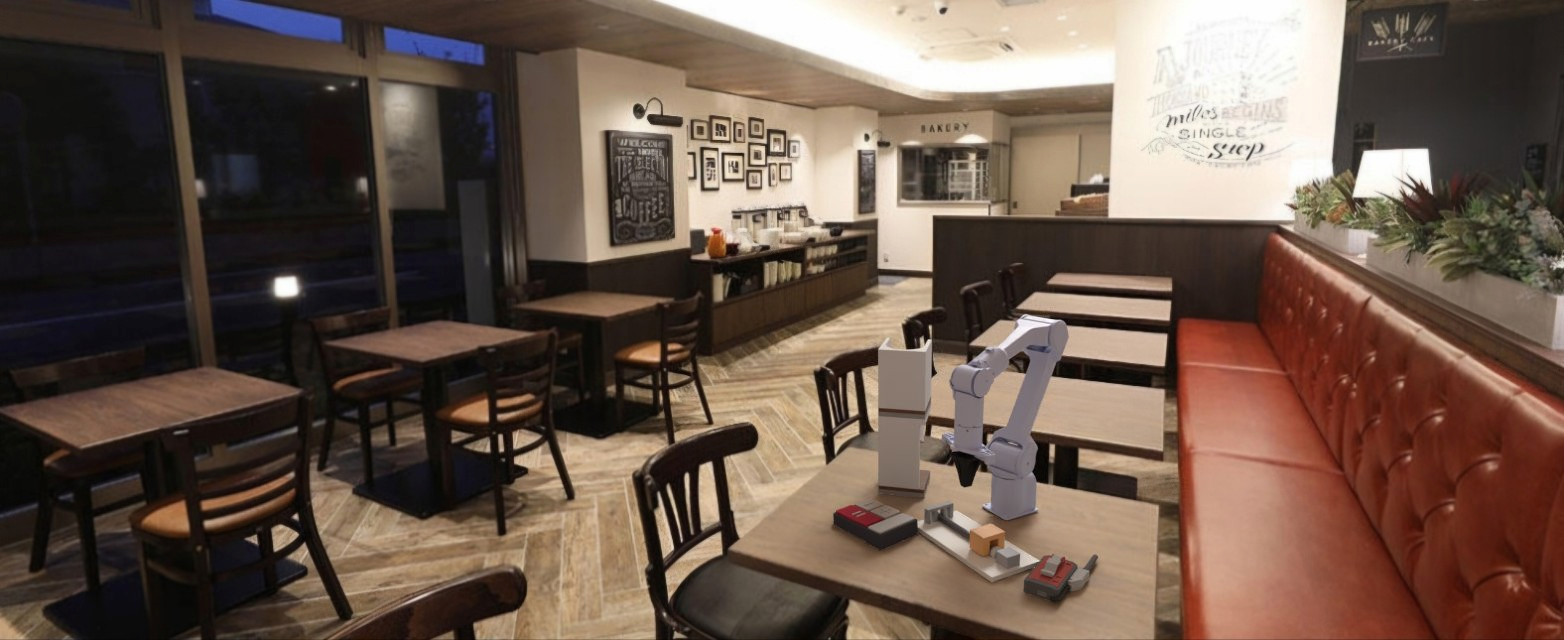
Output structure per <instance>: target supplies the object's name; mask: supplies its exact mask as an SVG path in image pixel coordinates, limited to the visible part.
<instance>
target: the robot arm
mask: <svg viewBox="0 0 1564 640" xmlns="http://www.w3.org/2000/svg"><path fill="white" fill-rule="evenodd" d="M1069 338H1070V337H1069V329H1068V326H1067V323H1066V322H1065V321H1064V320H1062V319H1051V318H1046V317H1040V316H1034V315H1030V314H1026V313H1025V314H1023V315H1022V316H1020V318H1019V319H1016V321H1015V323H1014V328H1013V331H1012V332H1011V333H1010V334H1009V335H1008V336H1007V337H1006V338H1005V339H1004V340H1003V341H1002V342H1001V343H1000V344H999V345H998V346H995V345H991V346H986V347H985V348H984V350H983V351H982V352H980V353H979V354H978V355H977V356H976V357H974V359H972V360H971V361H969V362H968V363H967V364H963V363H962V364H959V366H956V367H955V368H954V369H953V371H952V373H951V375H950V378H949V379H948V382H949V387H950V389H951V392H952V398H953V400H954V421H953V422H954V425H953V433H951V432H946V433H942V434H941V443H943V444H945V445H946V444H948V445H949V449H950V450H952V451H951V452H949V453H950V454H949V456H950V458H951V460H952V462H953V464H954V466H955V468H956V473H957V476H958V481H959V485H960V486H961V487H963V488H964V489H965V488H968V487H973V483H974V480H975V477H976V474H977V472H978V470H979V468H980V466H981V465H982V463H984V465H987V466H988V471H989V472H991V486H990V488H991V489H990V490H991V491H990V502H987V503H983V504H982V505H981V506H982V508H983V509H985V510H987V511H988V512H991V513H992V514H994V515H995V516H997V517H999V518H1001V519H1002V520H1004V521H1010V520H1014V519H1018V518H1020V517H1024V516H1027V515H1030V514H1033V513H1036V512H1039V508H1038V507H1036V506H1037V505H1036V504H1037V503H1036V502H1037V486H1038V485H1037V484H1038V483H1037V479H1036V476H1035V475H1034V473H1033V470H1034V469H1035V465H1036V457H1037V453H1038V449H1039V448H1038V445H1037V443H1036V441H1034V438H1032V435H1031V433H1032V430H1033V427H1034V424H1035V421H1036V419H1037V416H1038V413H1039V410H1040V409H1041V408H1040V407H1041V405H1042V402H1043V401H1044V400H1043V399H1044V397H1045V395H1046V392H1047V388H1048V387H1049V383H1050V381H1051V378H1052V375H1053V374H1054V373H1053V372H1054V369H1055V367H1056V365H1057V362H1059V361H1061V360H1062V356H1063V354H1064V352H1065V348H1066V346H1067V343H1068V340H1069ZM1022 351H1023V352H1024V354H1025V355H1026V356H1028V357H1029V364H1028V367H1027V368H1026V369H1027V370H1026V372H1025V375H1024V378H1023V380H1022V383H1021V386H1020V389H1019V391H1018V394H1017V397H1016V399H1015V401H1014V402H1015V403H1014V405H1013V407H1012V410H1011V413H1010V416H1009V418H1008V422H1007V423H1006V426H1004V427H1002V428H999V429H997V430H995V431H994V432H993V435H992V437H991V439H990V440H989V441H988V443H987V444H986V445H985V444H984V443H983V436H984V435H983V431H984V430H983V429H984V410H985V406H984V405H985V404H984V403H985V396H987V395H988V393H989V391H990V389H991V386H992V385H993V384H994V381H995V379H996V378H997V377H998V376H1000V375H1001V374H1003V373H1004V371H1006V370H1007V369H1008V367H1009V366H1010V359H1011V358H1013V357H1014V356H1016V355H1017V354H1019V353H1021V352H1022Z"/></svg>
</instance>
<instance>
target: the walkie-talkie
mask: <svg viewBox="0 0 1564 640" xmlns="http://www.w3.org/2000/svg"><path fill="white" fill-rule="evenodd" d="M1098 559H1099V555H1097V554H1093V555H1092V556H1091V557H1090V559H1089V560H1088V561H1087V563H1086V564H1085V565H1084V567H1083V568H1080V567H1078V564H1077V563H1075V562H1074V561H1072V560H1067V559H1066V557H1065V556H1062V555H1059V554H1055V553H1052V554H1050V555H1043V556H1042V557H1041V559H1039V562H1038V563H1037V565H1036V566H1035V568H1032V569H1031V571H1030V572H1029V573H1028V574H1027V575H1026V576H1025V578H1023V591H1024V593H1025V594H1027V595H1030V594H1031V595H1030V596H1033V597H1035V598H1039V599H1042V600H1045V601H1048V602H1052V603H1056V604H1057V603H1059V602H1060V601H1061V599H1062V598H1063V597H1064V596H1065V594H1066V593H1067V592H1074V591H1079V590H1082V589H1083V588H1084V586H1085V584H1087V582H1088V581H1089V580H1090V571H1091V569H1092V568H1093V566H1094V565H1095V563H1096V562H1097V560H1098Z"/></svg>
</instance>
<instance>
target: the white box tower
mask: <svg viewBox="0 0 1564 640" xmlns="http://www.w3.org/2000/svg"><path fill="white" fill-rule="evenodd" d="M891 339H892V338H891V337H886V339H884V341H883V343H881V345H880V346H879V347H878V350H877V353H878V355H877V357H878V358H877V360H878V361H877V363H878V364H877V373H878V374H877V375H878V376H877V377H878V379H877V381H878V382H877V384H878V385H877V386H878V387H877V390H878V391H877V394H878V397H877V398H878V399H877V402H878V405H877V409H878V411H877V413H878V414H877V415H878V417H877V420H878V423H877V425H878V426H877V429H878V430H877V431H878V432H877V433H878V435H877V436H878V437H877V438H878V439H877V440H878V444H877V445H878V446H877V447H878V448H877V449H878V452H877V455H878V458H877V459H878V461H877V463H878V464H877V465H878V466H877V470H878V475H877V476H878V478H877V479H878V480H877V481H878V482H877V484H878V487H877V488H878V491H877V492H878V493H883V494H882V495H888V494H893V495H892V496H897V495H900V496H899V497H907V496H908V497H909V498H917V497H918V498H917V499H925V496H926V492H927V490H928V487H927V486H929V483H930V479H931V470H926V469H921V466H920V465H921V461H920V460H921V459H920V458H921V457H920V456H921V444H923V443H925V439H924V438H925V426H926V423H927V421H928V418H929V415H930V413H931V410H932V366H933V365H932V364H933V363H932V362H933V361H932V360H933V359H932V358H933V356H932V355H933V354H932V353H933V347H932V346H933V341H932V340H933V339H927V340H926V342H925V344H924V345H923V347H919V348H913V349H912V348H911V349H901V348H893V347H891V346H892V345H891V344H892V343H891V341H892V340H891ZM926 489H927V490H926Z"/></svg>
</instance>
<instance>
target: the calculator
mask: <svg viewBox="0 0 1564 640" xmlns="http://www.w3.org/2000/svg"><path fill="white" fill-rule="evenodd" d="M832 517H833V525H834V526H836V527H838V529H840V530H843V531H844V532H846V533H848V534H850V535H852V536H854V537H856V538H858V539H860V540H862V541H863V542H865V544H867V545H870V546H872V547H873V548H875V549H877V550H878V551H883V550H886V549H888V548H890V547H892V546H895V545H898V544H901V543H902V542H904V541H907V540H909V539H911V538H914V537H917V536H918V535H919V532H918V522H917V521H918V519H917V518H915V517H914V516H911V515H908V514H907V513H903V512H901V510H898V509H897V508H894V507H892V506H891V505H887V504H884V503H882V502H880V501H878V500H875V499H873V498H871V497H869V498H866V499H865V498H864V500H861V501H858V502H855V503H854V504H850V505H848V506H844V507H842V508H839V509H837V510H835V512H833V513H832Z"/></svg>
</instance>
